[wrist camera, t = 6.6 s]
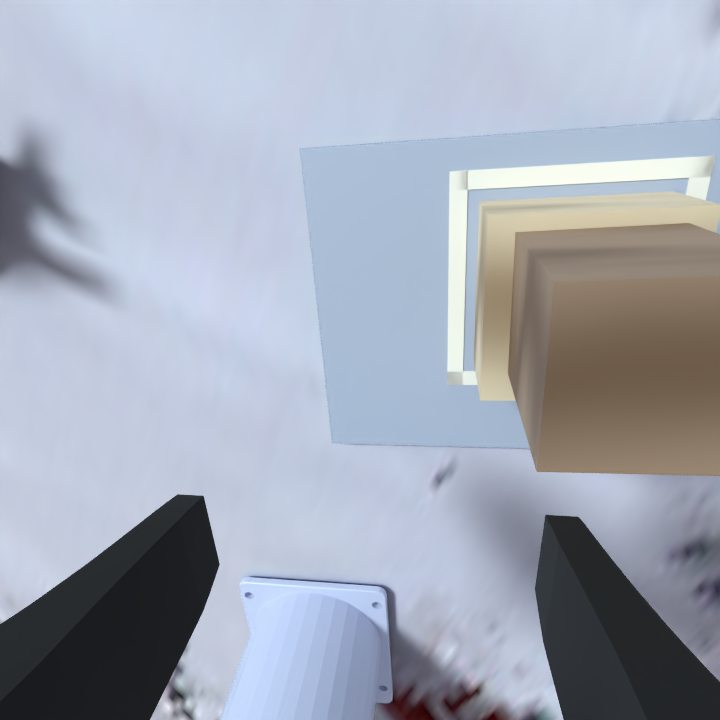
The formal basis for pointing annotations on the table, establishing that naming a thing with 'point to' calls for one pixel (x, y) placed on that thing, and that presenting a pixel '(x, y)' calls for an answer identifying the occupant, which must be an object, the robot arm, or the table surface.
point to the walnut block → (618, 348)
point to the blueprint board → (451, 261)
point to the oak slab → (541, 216)
